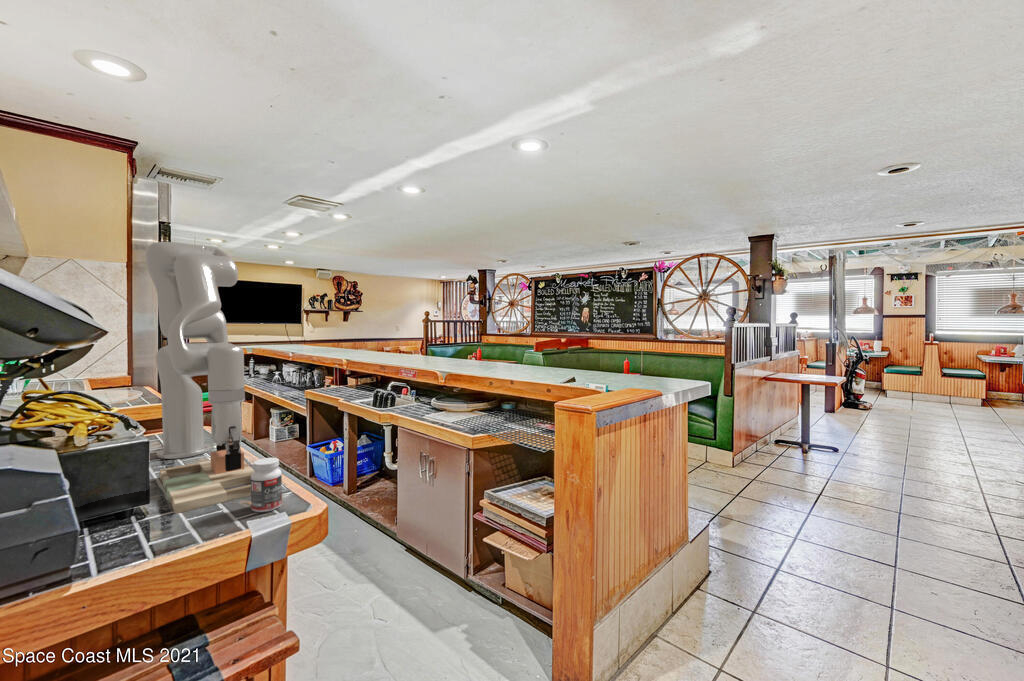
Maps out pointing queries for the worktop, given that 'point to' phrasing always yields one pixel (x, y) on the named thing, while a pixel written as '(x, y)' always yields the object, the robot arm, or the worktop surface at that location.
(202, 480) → the board
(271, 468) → the pill bottle
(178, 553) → the worktop surface
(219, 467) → the block
